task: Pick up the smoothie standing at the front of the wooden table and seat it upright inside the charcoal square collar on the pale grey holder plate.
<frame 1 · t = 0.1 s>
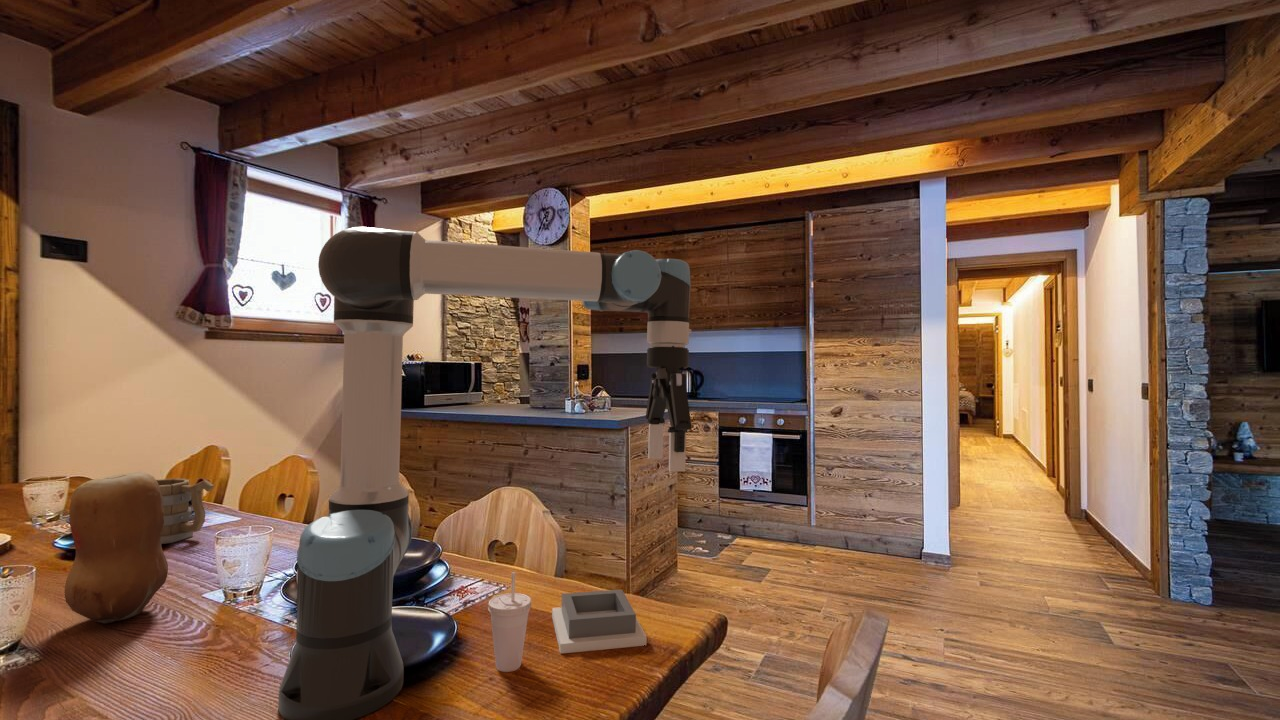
hand: (665, 464, 104), 28 cm above the table, fingers open, 13 cm apart
smoothie: (508, 666, 87), on the table
tankard: (173, 540, 145), on the table
mug: (340, 589, 115), on the table
holder: (596, 630, 99), on the table
butternut squash: (118, 620, 100), on the table
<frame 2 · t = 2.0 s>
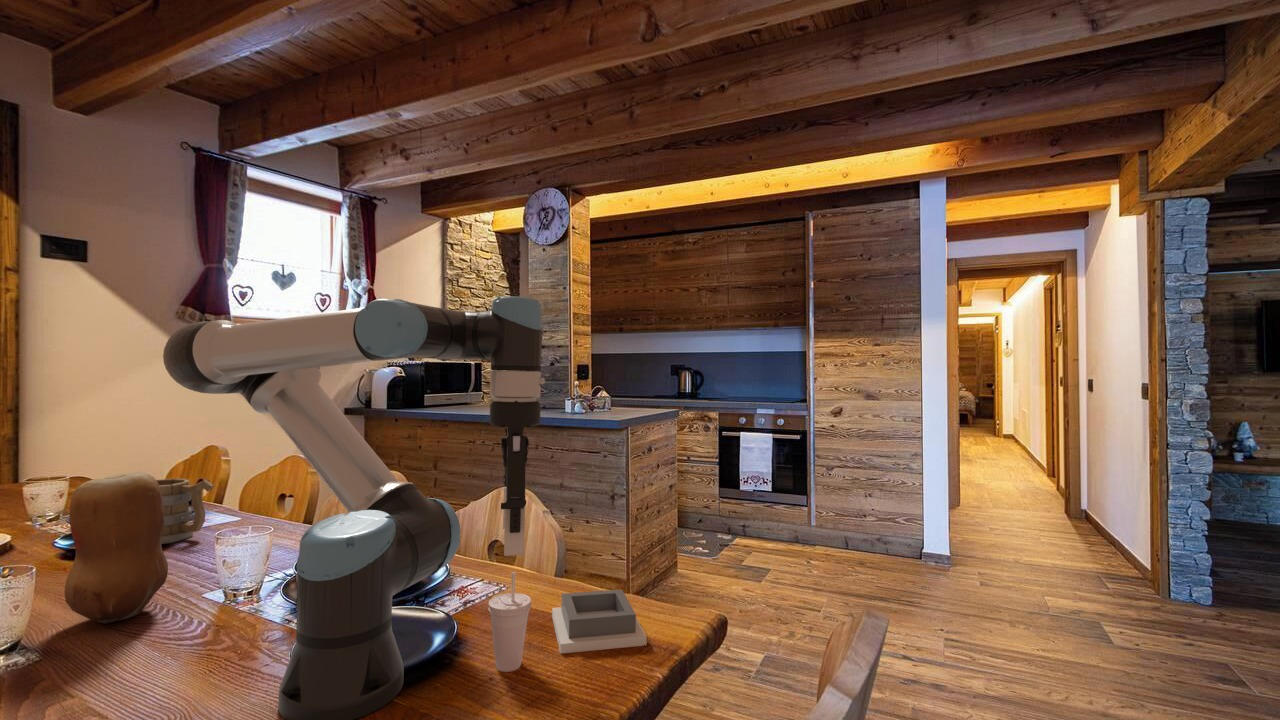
hand: (512, 540, 87), 19 cm above the table, fingers open, 13 cm apart
nothing on the table moved.
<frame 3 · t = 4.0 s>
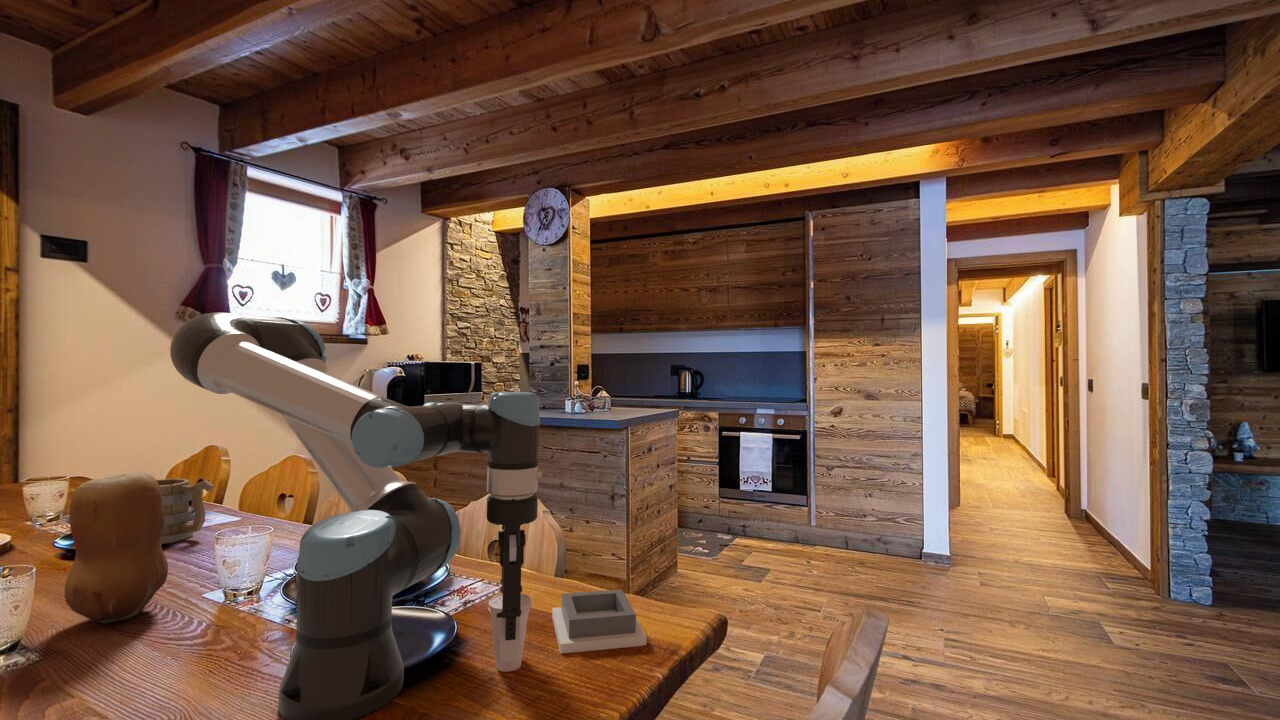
hand: (508, 647, 87), 3 cm above the table, fingers closed on smoothie, 6 cm apart
smoothie: (508, 666, 87), on the table, touching gripper
everything else where it was.
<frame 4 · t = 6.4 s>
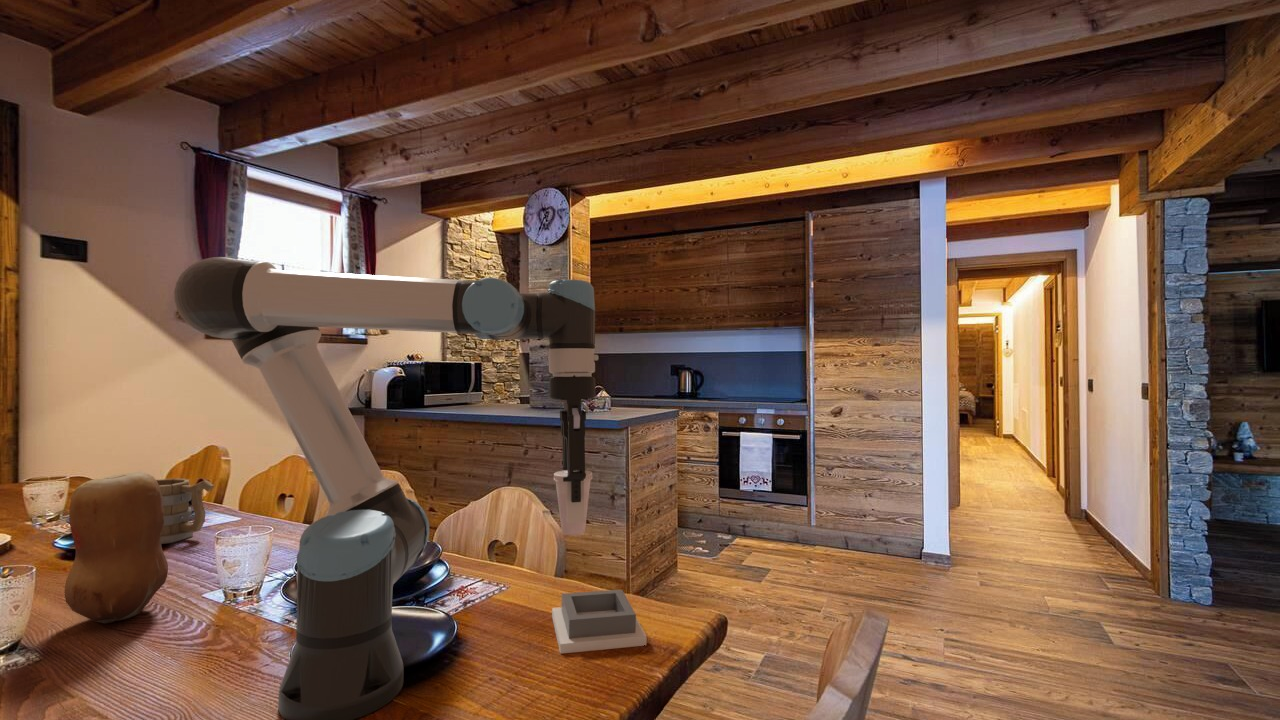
hand: (573, 515, 95), 21 cm above the table, fingers closed on smoothie, 6 cm apart
smoothie: (573, 533, 95), point 18 cm above the table, touching gripper
everything else where it was.
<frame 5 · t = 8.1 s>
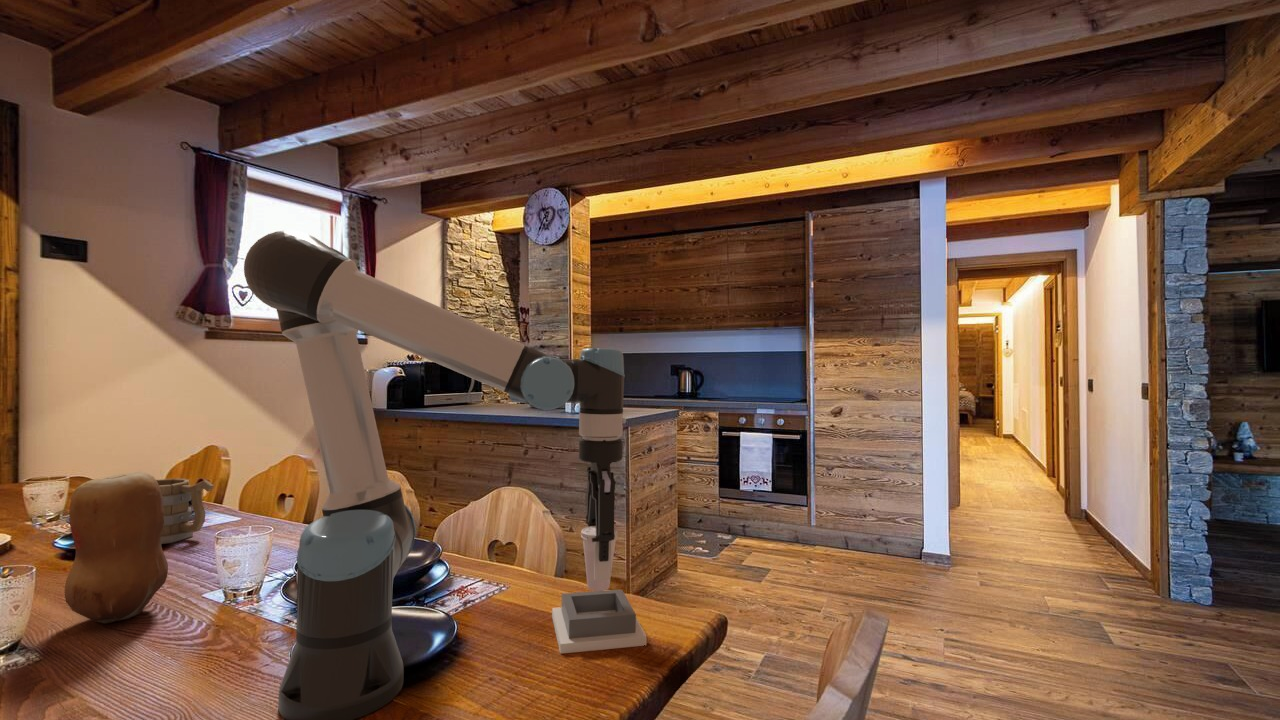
hand: (598, 571, 100), 10 cm above the table, fingers closed on smoothie, 6 cm apart
smoothie: (598, 588, 100), point 7 cm above the table, touching gripper
everything else where it was.
when the fingers open (6 cm above the table, at t = 9.1 s): smoothie drops 2 cm, resting on holder.
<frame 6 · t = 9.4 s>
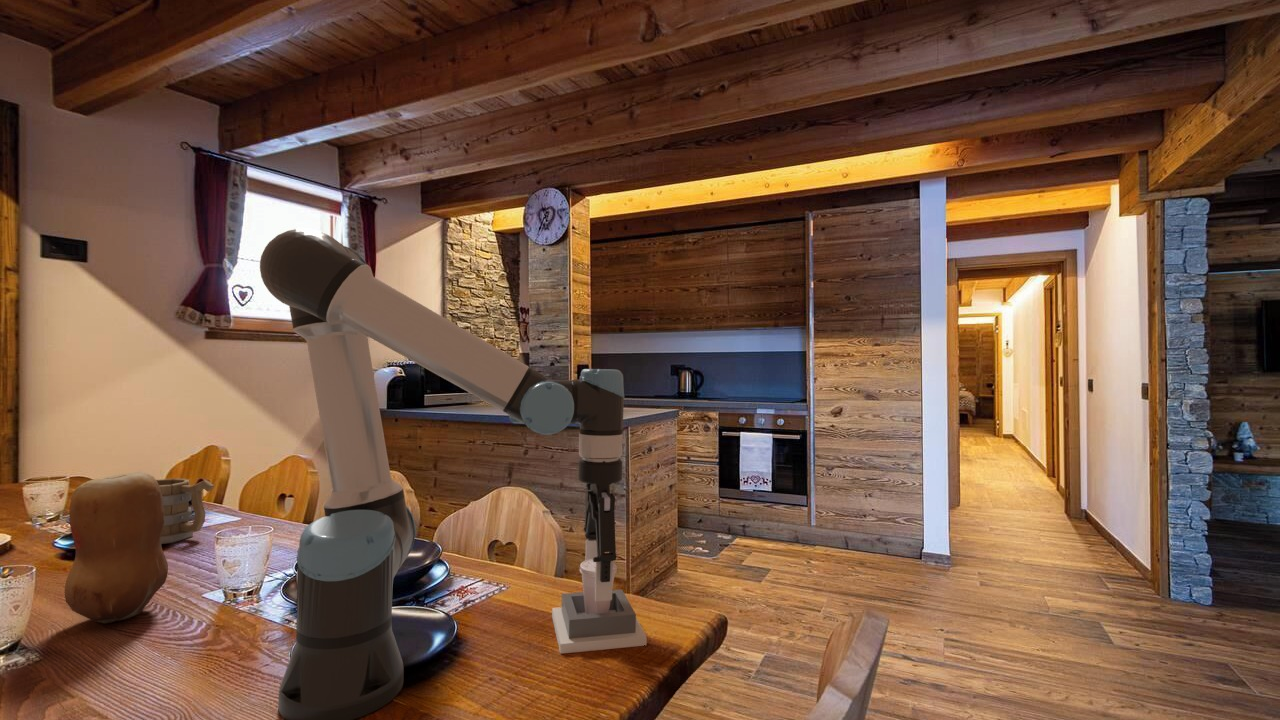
hand: (597, 587, 100), 7 cm above the table, fingers open, 10 cm apart
smoothie: (596, 621, 100), point 1 cm above the table, touching holder
everything else where it was.
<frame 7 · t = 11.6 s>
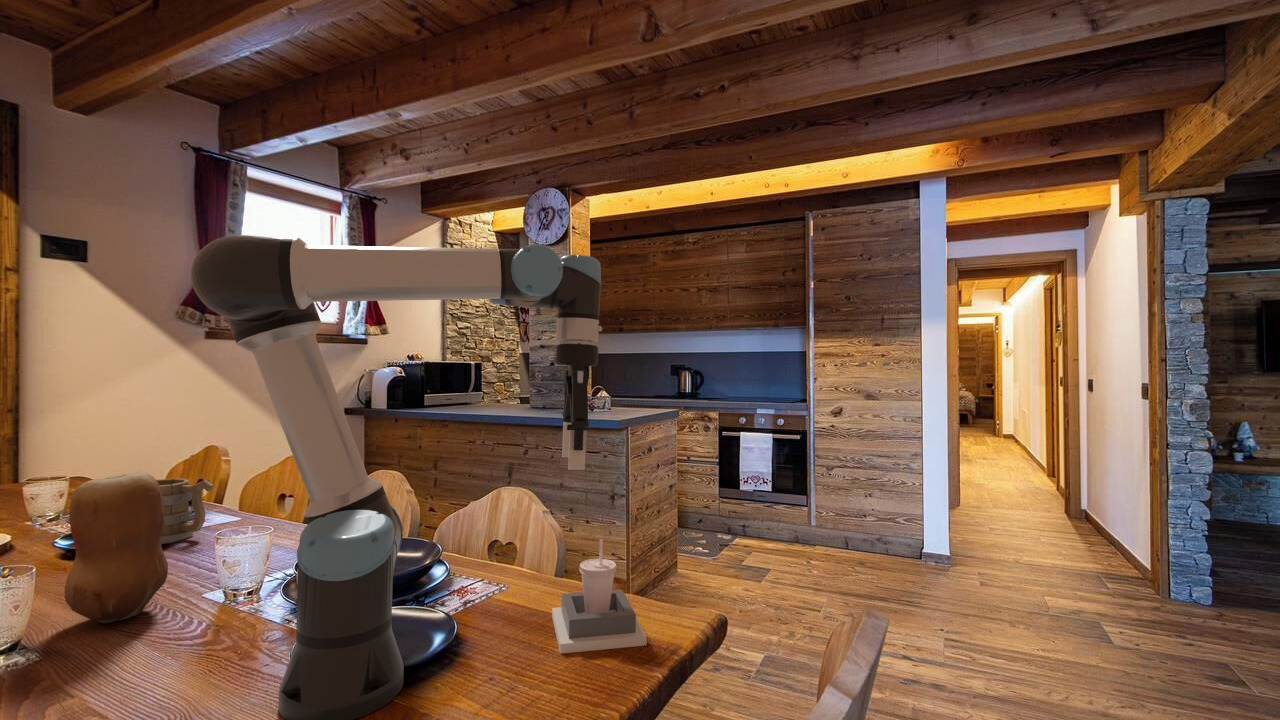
hand: (572, 463, 103), 28 cm above the table, fingers open, 13 cm apart
nothing on the table moved.
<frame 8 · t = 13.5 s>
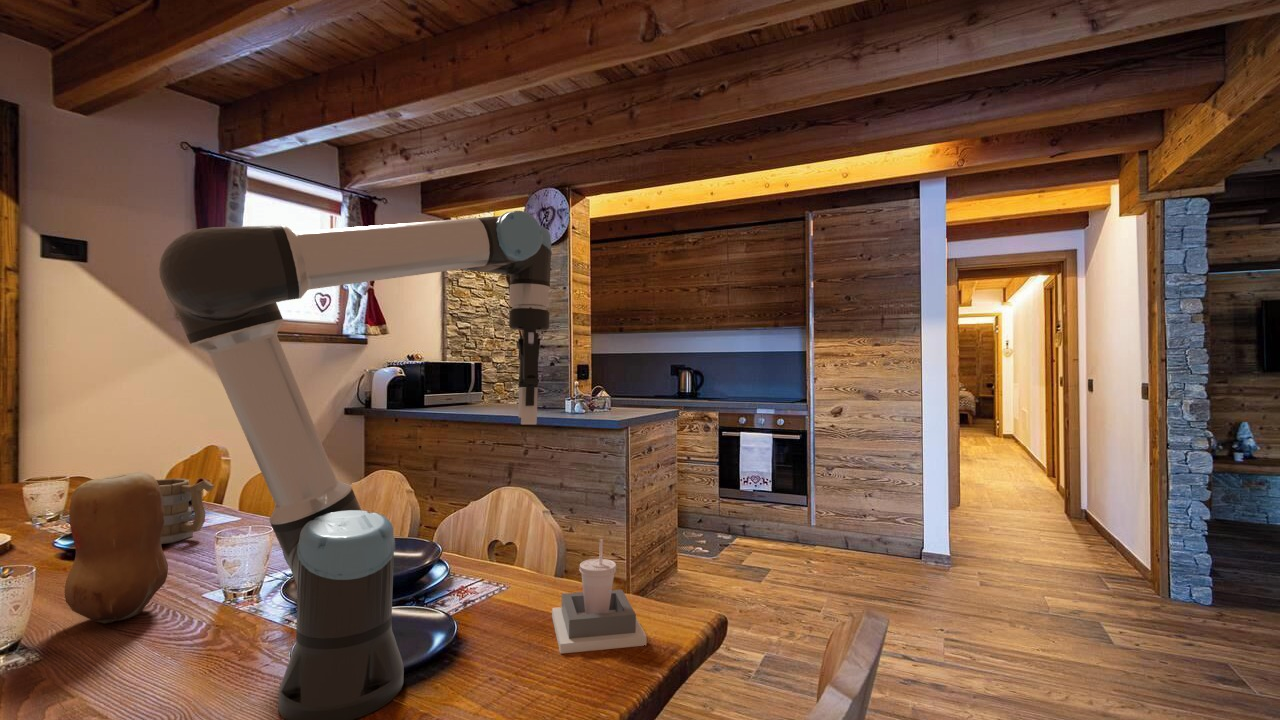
hand: (526, 420, 110), 35 cm above the table, fingers open, 13 cm apart
nothing on the table moved.
at the end: smoothie 0.1 cm off-centre on the holder, point 1.3 cm above the holder's base; smoothie tilted 0°; the gripper is holding nothing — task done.
